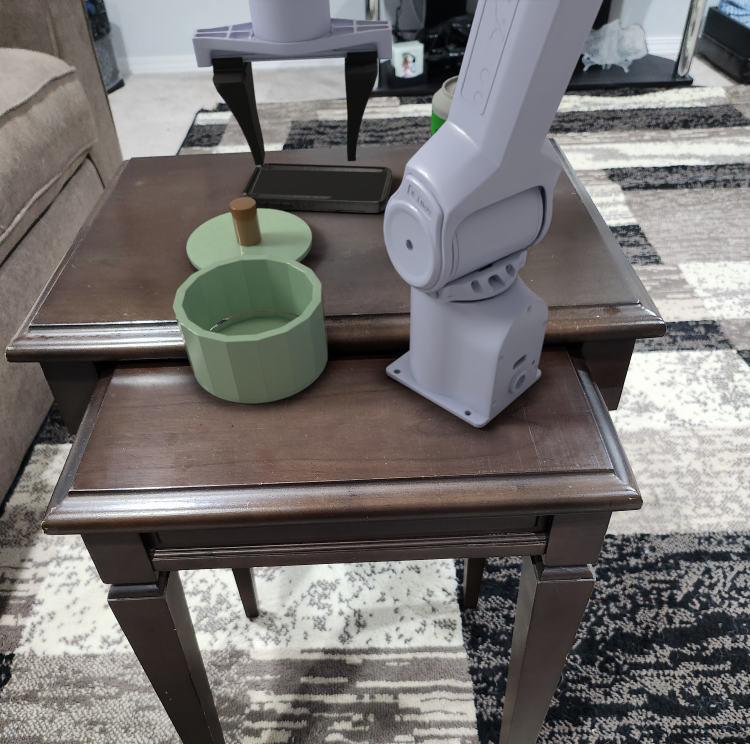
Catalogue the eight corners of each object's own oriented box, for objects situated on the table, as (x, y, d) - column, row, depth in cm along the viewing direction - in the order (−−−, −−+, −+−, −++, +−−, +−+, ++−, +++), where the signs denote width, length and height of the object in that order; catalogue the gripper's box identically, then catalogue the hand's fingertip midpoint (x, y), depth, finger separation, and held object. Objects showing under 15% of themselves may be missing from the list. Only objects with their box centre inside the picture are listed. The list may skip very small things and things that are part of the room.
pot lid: (338, 246, 65) (335, 199, 61) (243, 302, 59) (233, 253, 56) (258, 206, 70) (250, 160, 66) (164, 254, 65) (149, 207, 61)
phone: (258, 162, 73) (393, 166, 72) (259, 173, 74) (393, 177, 73) (239, 198, 69) (384, 203, 67) (241, 208, 69) (384, 213, 68)
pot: (356, 353, 54) (352, 290, 50) (253, 424, 50) (238, 362, 45) (267, 301, 59) (256, 239, 55) (165, 361, 54) (144, 299, 50)
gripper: (388, -67, 48) (390, 133, 58) (186, -58, 48) (224, 140, 58) (392, -40, 43) (394, 171, 54) (170, -30, 43) (215, 178, 54)
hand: (305, 157), depth 56 cm, fingers open, 7 cm apart
